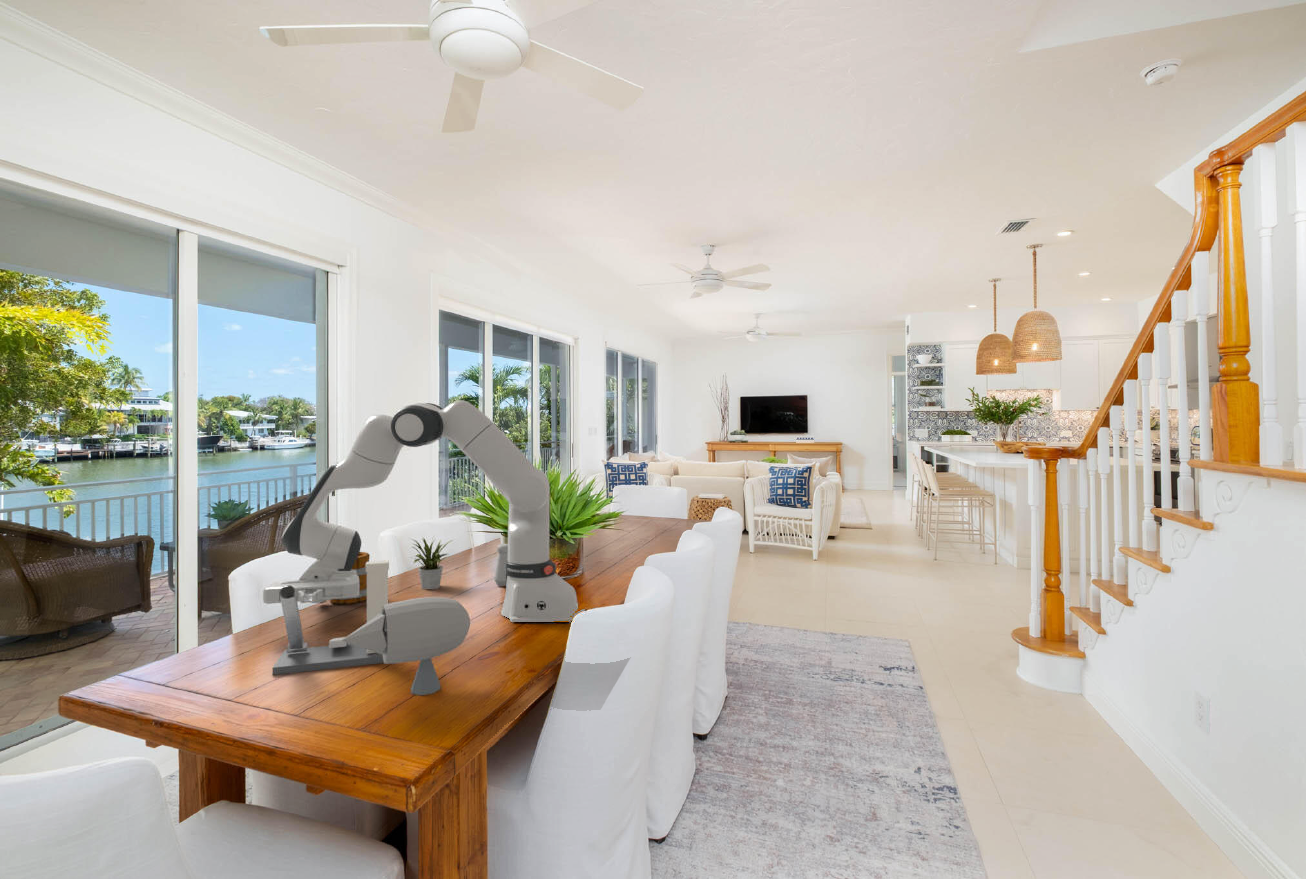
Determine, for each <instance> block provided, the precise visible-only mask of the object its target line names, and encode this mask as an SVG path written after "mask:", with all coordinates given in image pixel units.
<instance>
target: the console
mask: <svg viewBox="0 0 1306 879" xmlns="http://www.w3.org/2000/svg"><path fill="white" fill-rule="evenodd" d="M376 664H377V665H378V664H385V663H384V660H383V655H382V654H379V653H367V649H364V648H361V647H359V646H356V645H353V644H350V643H349V644H348V645H347V646H345V647H335V648H329V645H320V646H311V647H310V646H309V647H308V650H307V651H305V652H295V653H287V649H284V650H283V652H282V653H281V654H280V656H279V658H278V659H277V661H276V662H275V663H274V665H273V667H272V676H276V675H283V674H284V675H285V674H294V673H295V674H296V673H302V672H313V671H323V670H330V669H338V668H348V667H351V668H352V667H358V666H367V665H376Z"/></svg>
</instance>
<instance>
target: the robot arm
mask: <svg viewBox="0 0 1306 879" xmlns="http://www.w3.org/2000/svg"><path fill="white" fill-rule="evenodd" d="M442 438H446V439H448V440H450V441H451V442H452V443H453V444H454V445H455V446H456V447H457V448H458V449H459V450H460V451H461V452H462V453H463V454H464V455H465V456H466V457H467V458H468V459H469V460H470V461H471V462H472V463H473V464H474V465H475V466H476V467H477V469H479V470H480V471H481V472H482V473H483V474H484V476H486V478H487V479H488V480H489V482H490V483H491V484H493V486H494V487H495V489H496V490H497V491H498V492H499V493H500V494H501V495H502V496H503V497H504V499H505V500H506V501H507V502H508V519H507V521H508V522H507V523H508V525H507V544H508V560H507V561H506V581H507V585H506V587H505V594H504V601H503V605H502V608H501V611H500V614H501V616H502V617H504V616H505V617H504V618H506V617H507V619H508V618H509V619H510V620H509V619H508V620H509V621H510V622H511V623H514V622H554V621H566V620H567V621H569V623H572V622H571V620H572V619H573V617H574V616H575V615H577V613H580V611H584V610H585V611H586V608H585V609H582V610H580V611H578V612H577V613H575V611H577V609H578V604H579V603H578V598H577V593H576V590H575V587H574V586H572V585H571V584H569V583H568V582H567V581H566V580H564V579H563V578H562V577H561V576H560V575H559V574H557V573H556V572H557V568H556V567H558V561H555V562H554V561H552V560H551V558H550V491H551V490H550V489H551V488H550V481H549V480H550V479H549V478H548V476H547V475H546V473H545V472H543V471H542V470H541V469H539V468H538V467H535V465H534V464H532V462H531V461H530V460H529V459H528V458H527V457H526V456H525V455H524V453H523V452H522V451H521V450H520V449H519V448H518V447H517V446H516V444H515V443H514V442H513V441H512V440H511V439H510V438H509V437H508V436H507V435H506V434H505V433H504V432H503V431H502V430H501V429H500V428H499V427H498V426H497V425H496V424H495V423H494V422H493V421H492V419H490V418H489V417H488V416H487V415H486V414H485V413H484V412H482V410H480V409H478V408H477V407H476V406H474V405H473V404H472V403H470V402H469V401H466V400H463V399H462V400H455V401H453V402H451V403H450V404H448V405H447V406H446V407H444V408H442V407H441V406H439V405H438V404H435V403H430V402H429V403H428V402H427V403H424V402H422V403H421V402H420V403H419V402H418V403H417V402H416V403H414V404H410V405H406V406H403V407H401V408H400V409H399V410H397V411H396V412H395V414H394V415H393V416H390V415H387V414H376V415H372V416H370V417H369V418H368V419H367V420H366V421H365V423H364V424H363V426H362V428H361V430H359V432H358V435H357V437H356V439H355V441H354V443H353V446H352V447H351V449H350V452H349V453H348V455H347V456H346V457H345V458H343V460H341V461H339V462H333V463H332V464H331V465H330V466H329V467H328V468H327V469H326V470H325V472H324V473H323V474H322V476H321V477H320V478H319V480H318V481H317V483H316V485H314V487H313V489H312V490H311V492H310V494H309V495H308V497H307V498H306V500H305V501H304V503H303V504H302V506H301V507H300V509H299V511H298V512H297V514H296V515H295V516H294V517H293V518H292V519H291V521H290V522H289V523H288V524H287V525H286V526H285V528H284V530H283V533H282V535H281V544H282V547H283V548H284V549H285V551H287V553H288V554H292V555H297V556H301V557H302V556H304V557H309V558H311V559H316V560H315V561H314V562H312V564H311V565H310V566H308V568H307V569H306V570H305V571H304V572H303V573H302V575H301V576H300V577H299V579H297V580H284V581H276V582H273V583H271V584H269V585H267V586H266V587H264V588H263V591H262V592H263V593H262V600H263V603H264V604H267V605H270V604H271V605H272V604H281V599H280V598H281V596H280V590H281V589H282V588H283V587H284V586H287V585H290V586H293V587H294V589H295V592H296V597H297V603H298V602H300V604H306V603H307V604H308V603H311V604H322V603H321V602H324V601H326V600H327V601H330V600H331V599H342V598H355V597H358V596H359V577H358V575H357V573H356V570H354V569H351V568H352V567H353V565H354V563H355V561H356V559H357V557H358V555H359V552H361V548H362V538H361V535H360V534H359V532H358V531H357V530H354V529H351V528H348V527H345V526H341V525H336V524H334V523H330V522H328V521H323V520H321V519H319V518H318V517H317V514H318V512H319V511H320V509H321V508H322V507H323V505H324V503H325V501H327V499H328V497H329V495H330V494H331V493H333V492H335V491H338V490H346V489H347V490H348V489H350V490H351V489H369V488H374V487H376V486H378V485H379V486H380V485H381V484H382V483H384V482H386V480H387V479H388V477H389V475H390V474H391V472H392V471H393V469H394V466H395V464H396V461H397V458H398V456H399V454H400V452H401V450H402V448H403V447H404V446H406V447H410V448H418V447H422V446H428V445H431V444H433V443H435V442H436V441H439V440H441V439H442ZM317 559H318V560H317ZM327 601H326V602H327ZM324 603H325V602H324ZM573 613H574V615H573ZM570 616H572V617H570Z"/></svg>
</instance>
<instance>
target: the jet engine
mask: <svg viewBox="0 0 1306 879" xmlns="http://www.w3.org/2000/svg"><path fill="white" fill-rule="evenodd" d="M470 627H471V618H470V615H469V613H468V611H467V610H466V608H465V607H464V606H463V604H462V603H461V602H459V601H458V600H456V599H452V598H448V597H437V596H430V597H429V596H427V597H425V596H423V597H417V598H410V599H405V600H400V601H396V602H391V603H388V604H386V605H383V606H382V611H381V614H379V615H377V616H376V617H374V618H373V619H371V620H370V621H369V622H367V621H366V623H365V624H362V625H361V626H360V627H358V628H357V629H355V631H353V632H352V633H350V634H348V635H347V636H345V637H346V638H344V639H343V640H341V641H344V642H347V643H349V644H353V645H356V646H359V647H361V648H364V649H367V650H370V651H373V652H376V653H379V654H382V655H383V660H384V663H383V664H385V665H386V664H390V665H391V664H402V663H403V664H404V663H411V662H418V661H420V662H419V665H418V667H417V670H416V673H415V676H414V679H413V681H412V685H411V687H410V694H411V695H417V696H426V695H432V694H434V693H436V692H438V691H440V690H441V682H440V680H439V678H438V675H437V672H436V668H435V666H434V664H433V660H432V659H433V658H436V657H440V656H442V655H445V654H446V653H449V652H451V651H453V650H455V649H456V648H458V647H459V646H460V645H462V643H463V642H464V640H465V639H466V637H467V635H468V633H469V631H470Z"/></svg>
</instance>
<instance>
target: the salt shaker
mask: <svg viewBox="0 0 1306 879" xmlns="http://www.w3.org/2000/svg"><path fill="white" fill-rule="evenodd" d="M496 551H497V552H498V556H497V560H496V566H495V572H494V578H493V580H494V581H495V583H496V584H495V585H496V586H497V585H498V586H506V585H507V581H506V561H507V560H508V543H501V544H498V545H497V546H496ZM498 586H497V587H498Z"/></svg>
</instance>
